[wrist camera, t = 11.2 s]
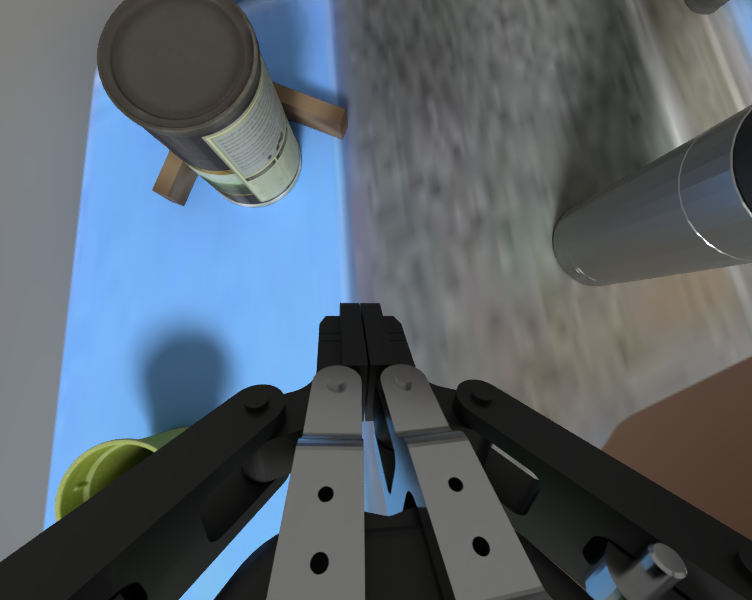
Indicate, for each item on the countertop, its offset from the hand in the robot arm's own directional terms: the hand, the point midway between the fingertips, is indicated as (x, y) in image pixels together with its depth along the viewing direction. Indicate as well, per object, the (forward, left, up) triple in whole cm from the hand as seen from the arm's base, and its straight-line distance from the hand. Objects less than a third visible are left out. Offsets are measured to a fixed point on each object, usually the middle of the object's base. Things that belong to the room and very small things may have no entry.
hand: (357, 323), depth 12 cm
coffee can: (-3, -21, -22) cm, 30 cm away
